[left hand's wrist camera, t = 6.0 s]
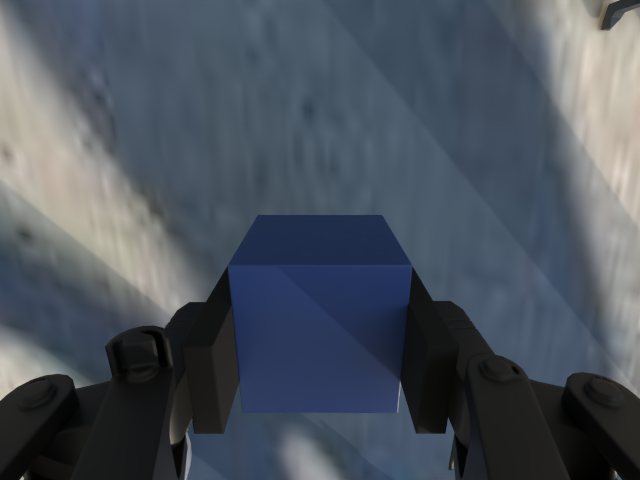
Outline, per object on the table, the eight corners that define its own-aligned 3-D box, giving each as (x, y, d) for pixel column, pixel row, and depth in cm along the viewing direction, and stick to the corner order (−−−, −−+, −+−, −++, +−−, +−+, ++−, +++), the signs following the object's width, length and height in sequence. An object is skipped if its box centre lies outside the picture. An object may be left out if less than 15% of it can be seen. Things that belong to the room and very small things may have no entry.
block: (382, 214, 14) (413, 265, 9) (375, 325, 16) (398, 413, 11) (257, 214, 14) (227, 264, 9) (264, 325, 16) (241, 413, 11)
